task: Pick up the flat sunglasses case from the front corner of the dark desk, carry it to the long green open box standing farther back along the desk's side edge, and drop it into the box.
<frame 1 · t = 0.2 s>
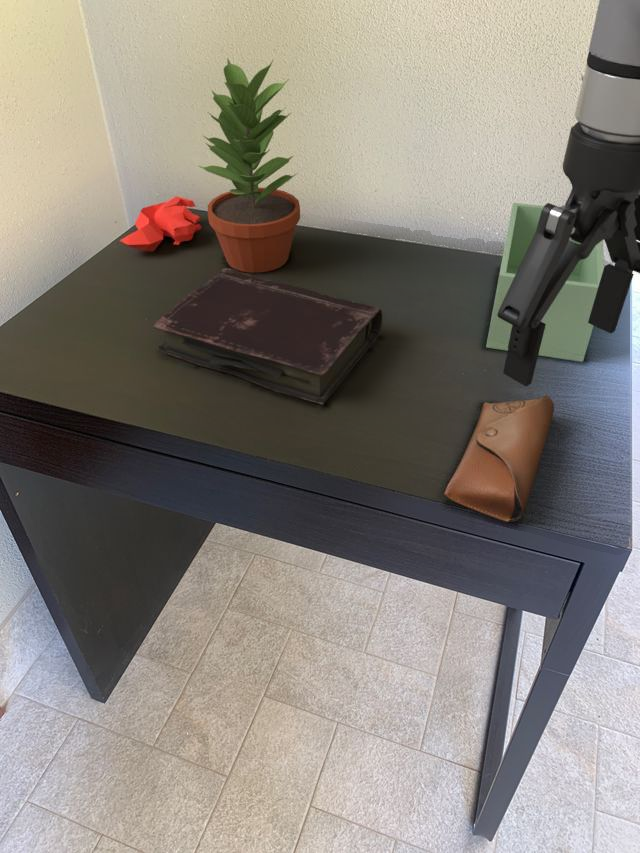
hand: (561, 351, 67), 14 cm above the table, tool pointing down, fingers open, 13 cm apart
green open box: (537, 311, 99), on the table
diary: (270, 346, 93), on the table
sunglasses case: (499, 459, 76), on the table
animal figurine: (165, 242, 117), on the table
potted plant: (255, 259, 112), on the table
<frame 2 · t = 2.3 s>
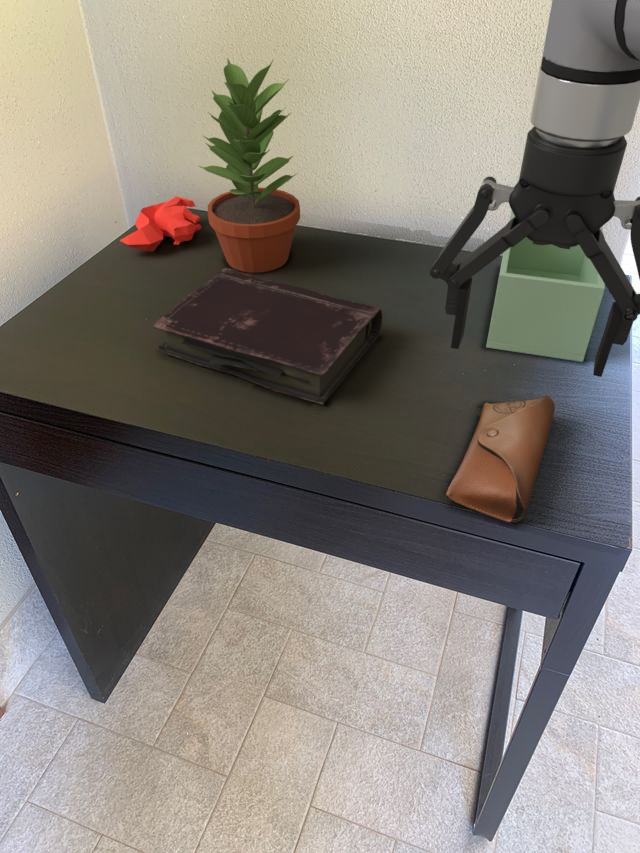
hand: (525, 354, 67), 14 cm above the table, tool pointing down, fingers open, 13 cm apart
nothing on the table moved.
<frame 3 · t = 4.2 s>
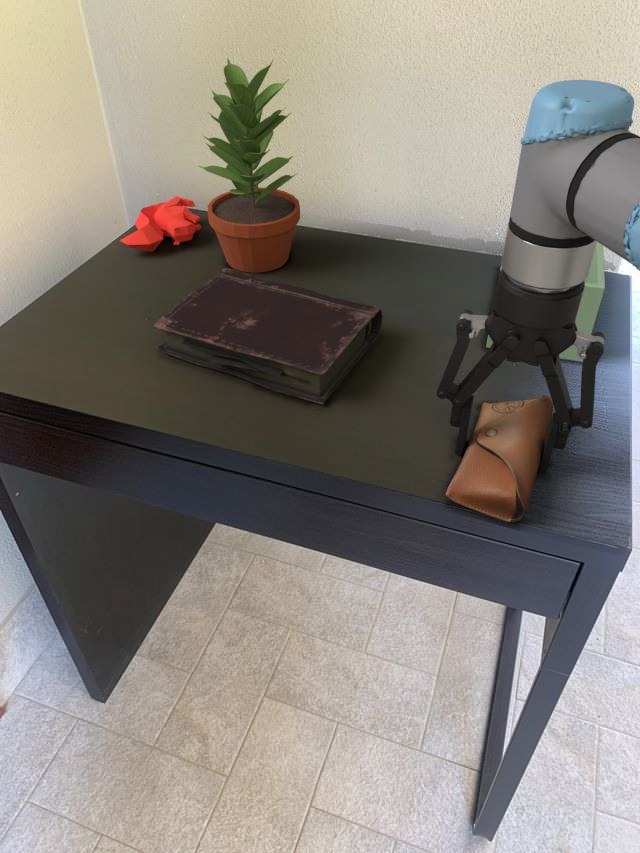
hand: (501, 455, 76), 0 cm above the table, tool pointing down, fingers closed on sunglasses case, 8 cm apart
sunglasses case: (499, 459, 76), on the table, touching gripper
everything else where it was.
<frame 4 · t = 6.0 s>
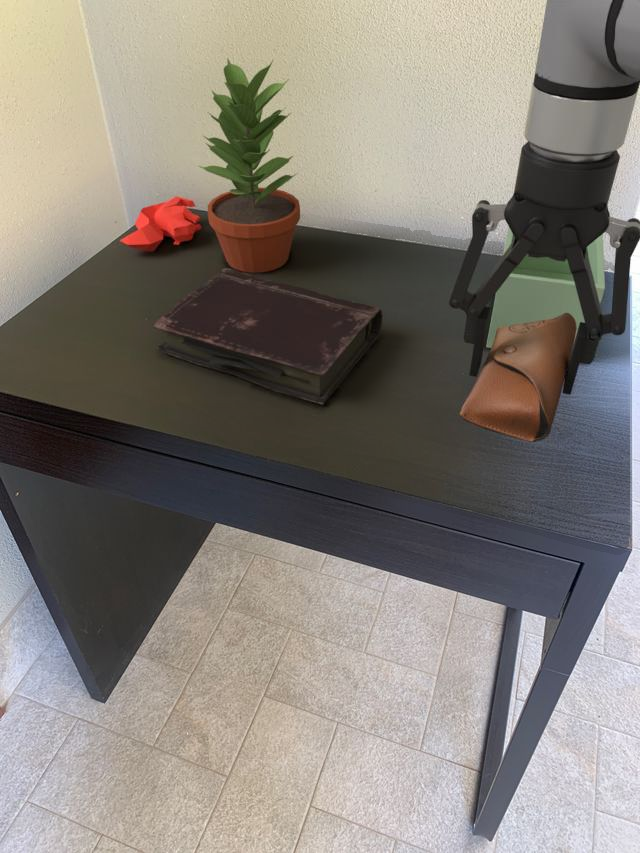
hand: (520, 377, 68), 12 cm above the table, tool pointing down, fingers closed on sunglasses case, 8 cm apart
sunglasses case: (518, 382, 69), point 11 cm above the table, touching gripper
everything else where it was.
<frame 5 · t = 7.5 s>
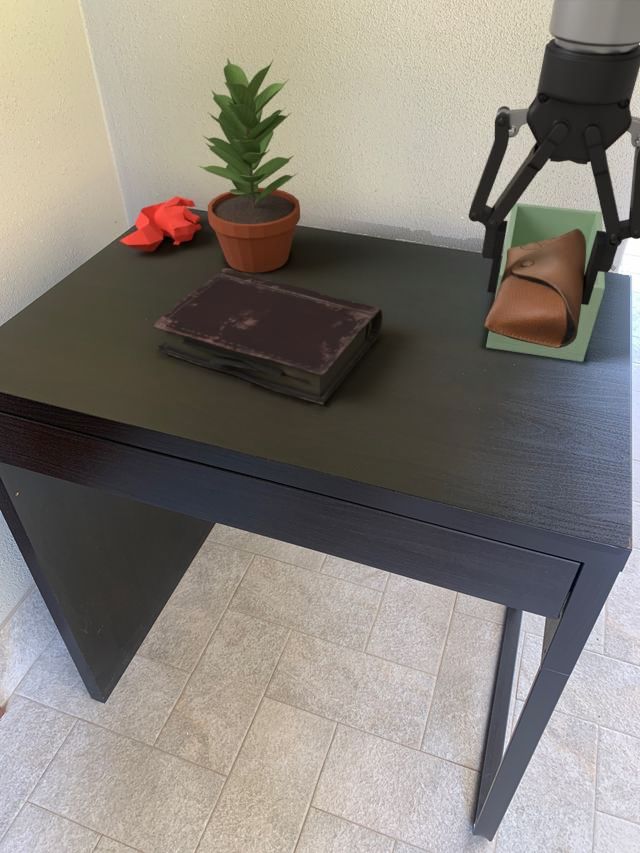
hand: (537, 291, 69), 18 cm above the table, tool pointing down, fingers closed on sunglasses case, 8 cm apart
sunglasses case: (535, 297, 70), point 17 cm above the table, touching gripper
everything else where it was.
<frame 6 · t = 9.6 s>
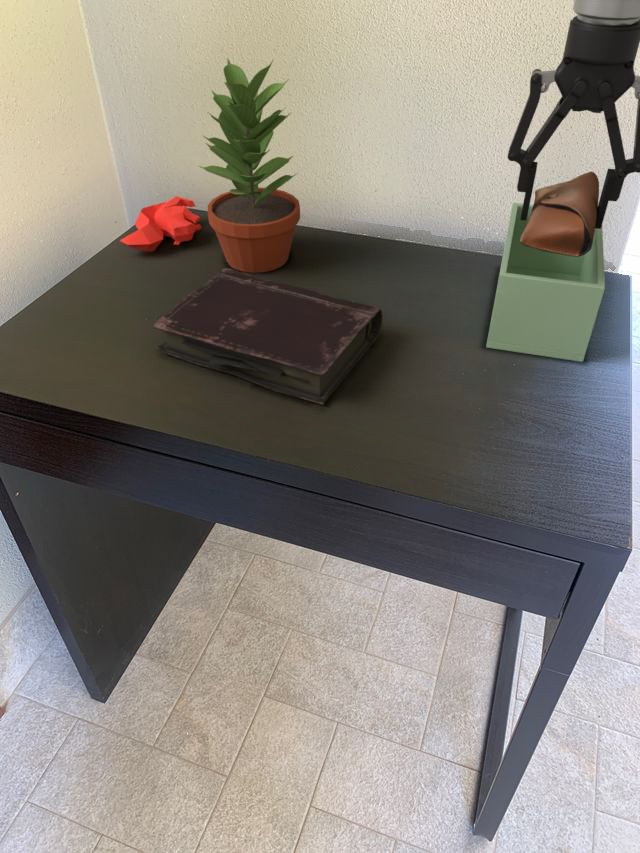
hand: (560, 219, 87), 15 cm above the table, tool pointing down, fingers closed on sunglasses case, 8 cm apart
sunglasses case: (558, 224, 88), point 15 cm above the table, touching gripper
everything else where it was.
when the fingers open (11 cm above the table, at t = 11.1 s): sunglasses case drops 5 cm, resting on green open box.
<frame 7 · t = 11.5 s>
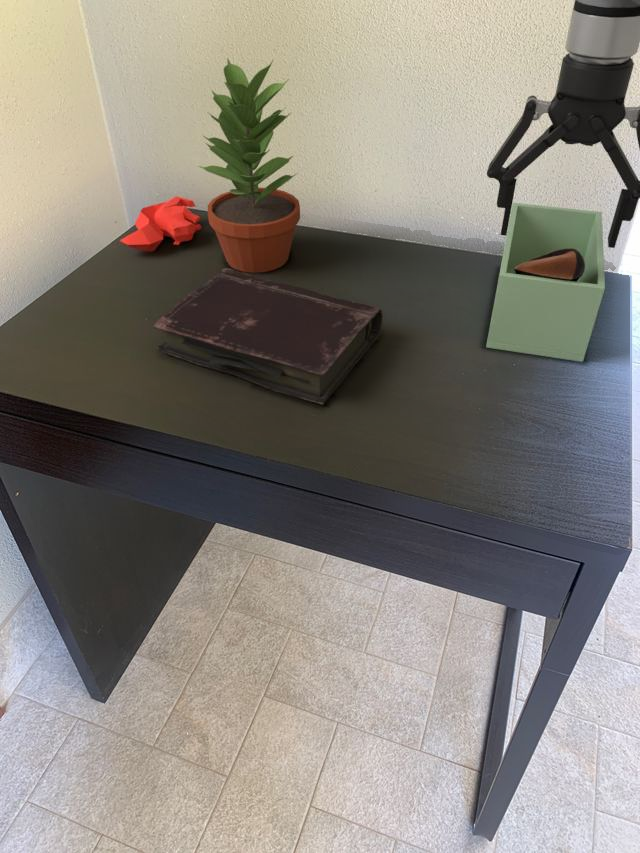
hand: (556, 237, 89), 13 cm above the table, tool pointing down, fingers open, 13 cm apart
sunglasses case: (544, 287, 93), point 6 cm above the table, touching green open box
everything else where it was.
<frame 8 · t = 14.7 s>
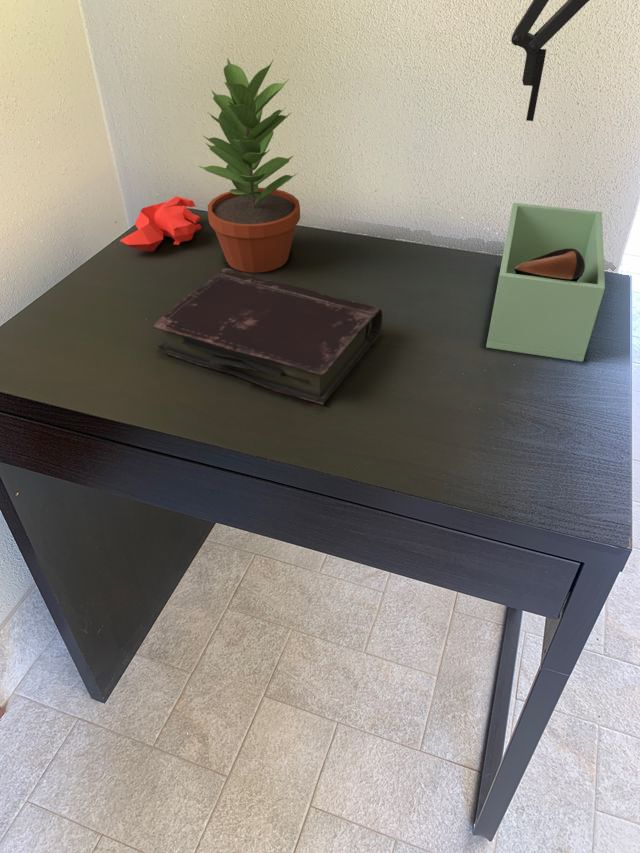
hand: (594, 122, 75), 29 cm above the table, tool pointing down, fingers open, 13 cm apart
nothing on the table moved.
at the end: sunglasses case inside the target area in the green open box (3.8 cm from its centre), point 6.0 cm above the green open box's base; the gripper is holding nothing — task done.
